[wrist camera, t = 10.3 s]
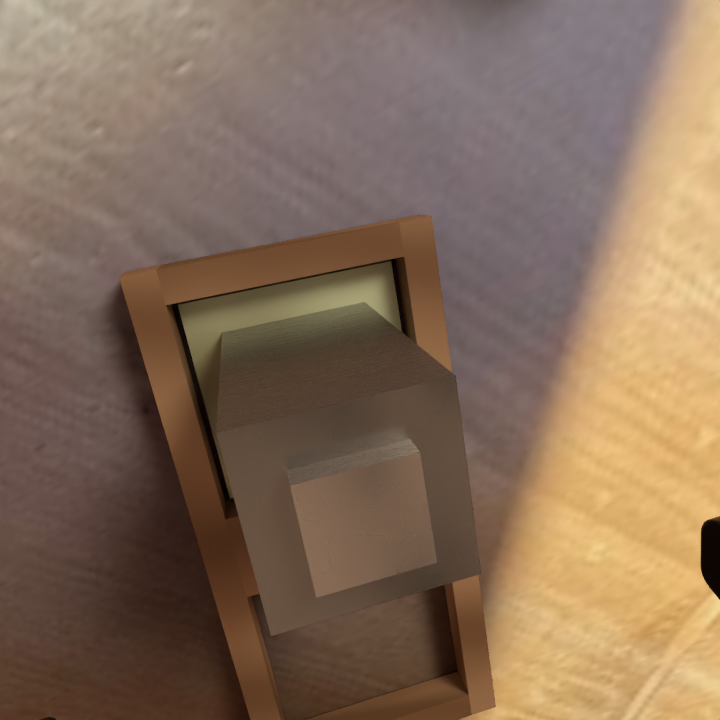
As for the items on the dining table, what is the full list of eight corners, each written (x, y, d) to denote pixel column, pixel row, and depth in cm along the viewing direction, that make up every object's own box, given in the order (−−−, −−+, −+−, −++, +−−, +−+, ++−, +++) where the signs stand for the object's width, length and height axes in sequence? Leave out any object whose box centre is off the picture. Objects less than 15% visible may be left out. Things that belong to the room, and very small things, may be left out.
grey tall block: (386, 430, 20) (493, 591, 12) (255, 463, 19) (273, 658, 11) (364, 301, 19) (467, 385, 11) (222, 332, 18) (215, 447, 10)
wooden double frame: (483, 682, 24) (495, 706, 23) (266, 753, 23) (268, 781, 22) (419, 214, 19) (431, 216, 17) (126, 271, 17) (119, 277, 16)
